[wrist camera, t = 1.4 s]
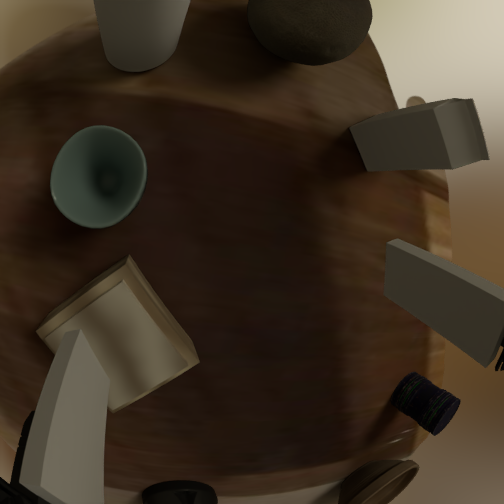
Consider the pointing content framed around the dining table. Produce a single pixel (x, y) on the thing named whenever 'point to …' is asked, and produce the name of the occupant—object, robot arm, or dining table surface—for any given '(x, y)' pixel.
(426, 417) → the storage jar
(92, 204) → the cup
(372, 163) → the milk carton
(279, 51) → the black ball
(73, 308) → the pedestal
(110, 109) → the dining table surface
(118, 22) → the alcohol
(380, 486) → the flower pot
